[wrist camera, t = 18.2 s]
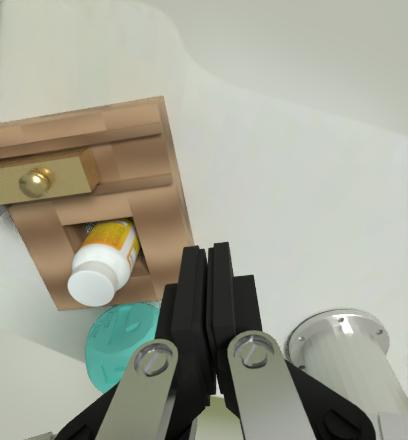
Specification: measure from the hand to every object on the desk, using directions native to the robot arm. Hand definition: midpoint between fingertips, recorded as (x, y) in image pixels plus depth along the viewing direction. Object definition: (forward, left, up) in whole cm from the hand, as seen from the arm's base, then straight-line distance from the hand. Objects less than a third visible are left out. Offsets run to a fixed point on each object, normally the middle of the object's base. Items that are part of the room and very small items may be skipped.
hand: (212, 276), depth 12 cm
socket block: (-6, +12, -21) cm, 25 cm away
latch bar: (0, +14, -17) cm, 22 cm away
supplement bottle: (-9, +12, -21) cm, 26 cm away
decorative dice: (-23, +13, -21) cm, 34 cm away
